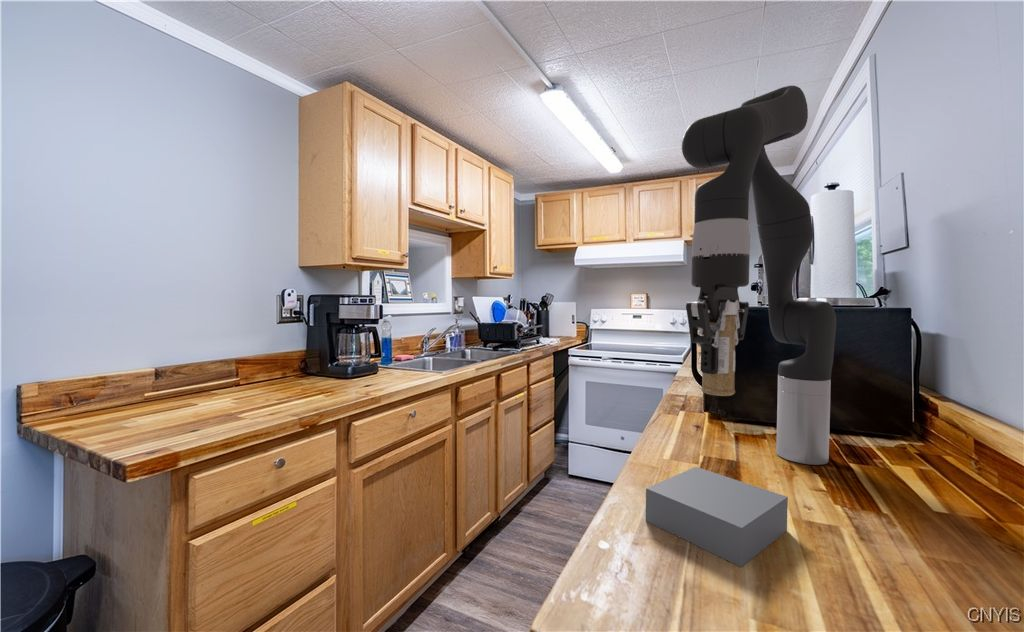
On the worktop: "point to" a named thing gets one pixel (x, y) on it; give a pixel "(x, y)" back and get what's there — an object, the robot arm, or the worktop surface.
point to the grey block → (718, 513)
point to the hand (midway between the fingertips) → (717, 370)
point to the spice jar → (723, 359)
